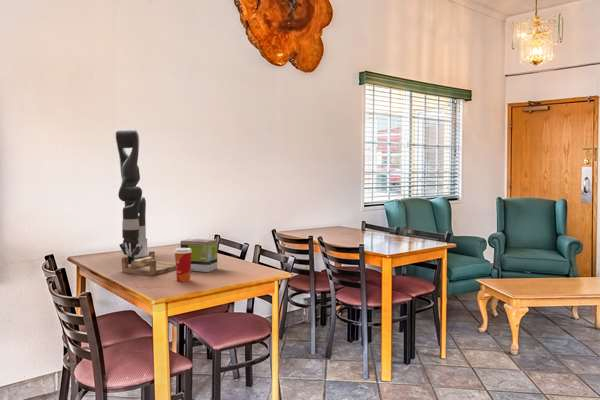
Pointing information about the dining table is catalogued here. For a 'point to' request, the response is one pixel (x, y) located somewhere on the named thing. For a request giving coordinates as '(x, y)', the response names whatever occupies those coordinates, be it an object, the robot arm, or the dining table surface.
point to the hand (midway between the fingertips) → (131, 264)
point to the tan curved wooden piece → (142, 261)
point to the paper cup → (183, 264)
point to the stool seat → (148, 267)
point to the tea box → (202, 253)
